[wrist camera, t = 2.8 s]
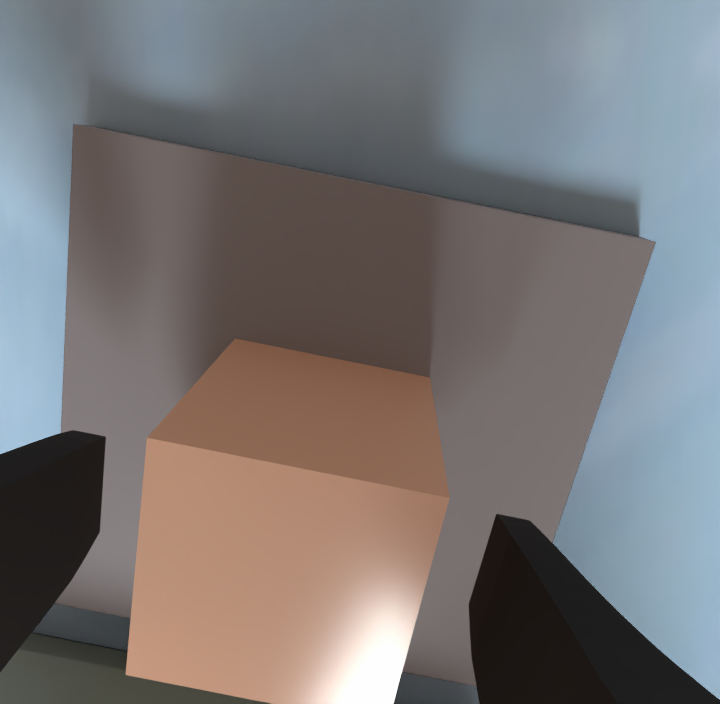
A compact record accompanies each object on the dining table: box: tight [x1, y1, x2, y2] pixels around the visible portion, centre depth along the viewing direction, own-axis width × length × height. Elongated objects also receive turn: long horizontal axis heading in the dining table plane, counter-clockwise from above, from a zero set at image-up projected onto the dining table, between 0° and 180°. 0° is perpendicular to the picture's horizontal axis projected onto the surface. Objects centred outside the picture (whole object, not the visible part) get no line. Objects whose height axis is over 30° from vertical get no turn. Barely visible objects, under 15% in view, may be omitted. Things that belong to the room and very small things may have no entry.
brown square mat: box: [55, 124, 656, 686], centre depth 14 cm, size 12×12×1 cm
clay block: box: [126, 339, 450, 704], centre depth 12 cm, size 4×4×5 cm
